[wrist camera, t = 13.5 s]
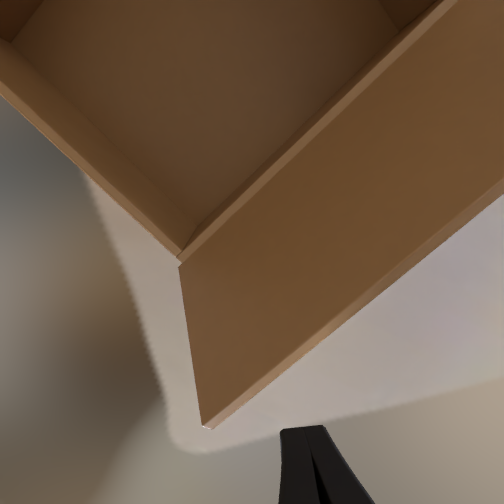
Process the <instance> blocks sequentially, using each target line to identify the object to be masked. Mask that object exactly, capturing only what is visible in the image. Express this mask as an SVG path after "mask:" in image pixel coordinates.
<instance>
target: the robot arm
mask: <svg viewBox="0 0 504 504" xmlns="http://www.w3.org/2000/svg"><path fill="white" fill-rule="evenodd" d="M280 443H281V461H282V465H281V482H280V494H279V503H278V504H375V503H374V501H373V500H372V498H371V497H370V496H369V494H368V493H367V491H366V490H365V489H364V487H363V486H362V484H361V483H360V482H359V480H358V479H357V477H356V476H355V474H354V473H353V472H352V470H351V469H350V467H349V466H348V464H347V463H346V461H345V460H344V458H343V457H342V455H341V453H340V452H339V450H338V449H337V447H336V445H335V444H334V442H333V441H332V439H331V437H330V435H329V433H328V432H327V430H326V428H325V427H324V426H323V425H316V426H306V427H296V428H287V429H283V430H281V431H280Z"/></svg>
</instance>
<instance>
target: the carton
mask: <svg viewBox="0 0 504 504" xmlns="http://www.w3.org/2000/svg"><path fill="white" fill-rule="evenodd" d="M457 1H458V0H0V95H1V96H2V97H3V98H5V99H6V100H7V101H8V102H9V103H10V104H11V105H12V106H13V107H14V108H15V109H16V110H17V111H19V112H20V113H21V114H22V115H23V116H24V117H25V118H26V119H27V120H28V121H29V122H30V123H32V124H33V125H34V126H35V127H36V128H37V129H38V130H39V131H40V132H41V133H42V134H43V135H44V136H46V137H47V138H48V139H49V140H50V141H51V142H52V143H53V144H54V145H55V146H56V147H57V148H58V149H60V150H61V151H62V152H63V153H64V154H65V155H66V156H67V157H68V158H69V159H70V160H71V161H72V162H74V163H75V164H76V165H77V166H78V167H79V168H80V169H81V170H82V171H83V172H84V173H85V174H86V175H88V176H89V177H90V178H91V179H92V180H93V181H94V182H95V183H96V184H97V185H98V186H99V187H100V188H102V189H103V190H104V191H105V192H106V193H107V194H108V195H109V196H110V197H111V198H112V199H113V200H114V201H116V202H117V203H118V204H119V205H120V206H121V207H122V208H123V209H124V210H125V211H126V212H127V213H128V214H130V215H131V216H132V217H133V218H134V219H135V220H136V221H137V222H138V223H139V224H140V225H141V226H142V227H144V228H145V229H146V230H147V231H148V232H149V233H150V234H151V235H152V236H153V237H154V238H155V239H156V240H158V241H159V242H160V243H161V244H162V245H163V246H164V247H165V248H166V249H167V250H168V251H169V252H170V253H172V254H173V255H174V256H175V257H176V258H177V259H178V260H179V261H180V262H181V263H183V262H184V261H185V260H186V259H187V258H188V257H189V256H191V255H192V254H193V253H194V252H195V251H196V250H197V249H198V248H199V247H200V246H201V245H202V244H203V243H204V242H205V241H206V240H207V239H208V238H209V237H210V236H212V235H213V234H214V233H215V232H216V231H217V230H218V229H219V228H220V227H221V226H222V225H223V224H224V223H225V222H226V221H227V220H228V219H229V218H230V217H231V216H233V215H234V214H235V213H236V212H237V211H238V210H239V209H240V208H241V207H242V206H243V205H244V204H245V203H246V202H247V201H248V200H249V199H250V198H251V197H252V196H254V195H255V194H256V193H257V192H258V191H259V190H260V189H261V188H262V187H263V186H264V185H265V184H266V183H267V182H268V181H269V180H270V179H271V178H272V177H274V176H275V175H276V174H277V173H278V172H279V171H280V170H281V169H282V168H283V167H284V166H285V165H286V164H287V163H288V162H289V161H290V160H291V159H292V158H293V157H295V156H296V155H297V154H298V153H299V152H300V151H301V150H302V149H303V148H304V147H305V146H306V145H307V144H308V143H309V142H310V141H311V140H312V139H313V138H314V137H316V136H317V135H318V134H319V133H320V132H321V131H322V130H323V129H324V128H325V127H326V126H327V125H328V124H329V123H330V122H331V121H332V120H333V119H334V118H336V117H337V116H338V115H339V114H340V113H341V112H342V111H343V110H344V109H345V108H346V107H347V106H348V105H349V104H350V103H351V102H352V101H353V100H354V99H355V98H357V97H358V96H359V95H360V94H361V93H362V92H363V91H364V90H365V89H366V88H367V87H368V86H369V85H370V84H371V83H372V82H373V81H374V80H375V79H376V78H378V77H379V76H380V75H381V74H382V73H383V72H384V71H385V70H386V69H387V68H388V67H389V66H390V65H391V64H392V63H393V62H394V61H395V60H396V59H398V58H399V57H400V56H401V55H402V54H403V53H404V52H405V51H406V50H407V49H408V48H409V47H410V46H411V45H412V44H413V43H414V42H415V41H416V40H417V39H419V38H420V37H421V36H422V35H423V34H424V33H425V32H426V31H427V30H428V29H429V28H430V27H431V26H432V25H433V24H434V23H435V22H436V21H437V20H438V19H440V18H441V17H442V16H443V15H444V14H445V13H446V12H447V11H448V10H449V9H450V8H451V7H452V6H453V5H454V4H455V3H456V2H457Z"/></svg>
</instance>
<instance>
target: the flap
mask: <svg viewBox="0 0 504 504" xmlns="http://www.w3.org/2000/svg"><path fill="white" fill-rule="evenodd" d="M503 193H504V0H458V1H457V2H456V3H455V4H454V5H453V6H452V7H451V8H450V9H449V10H448V11H447V12H446V13H445V14H444V15H443V16H442V17H441V18H440V19H438V20H437V21H436V22H435V23H434V24H433V25H432V26H431V27H430V28H429V29H428V30H427V31H426V32H425V33H424V34H423V35H422V36H421V37H420V38H419V39H417V40H416V41H415V42H414V43H413V44H412V45H411V46H410V47H409V48H408V49H407V50H406V51H405V52H404V53H403V54H402V55H401V56H400V57H399V58H398V59H396V60H395V61H394V62H393V63H392V64H391V65H390V66H389V67H388V68H387V69H386V70H385V71H384V72H383V73H382V74H381V75H380V76H379V77H378V78H376V79H375V80H374V81H373V82H372V83H371V84H370V85H369V86H368V87H367V88H366V89H365V90H364V91H363V92H362V93H361V94H360V95H359V96H358V97H357V98H355V99H354V100H353V101H352V102H351V103H350V104H349V105H348V106H347V107H346V108H345V109H344V110H343V111H342V112H341V113H340V114H339V115H338V116H337V117H336V118H334V119H333V120H332V121H331V122H330V123H329V124H328V125H327V126H326V127H325V128H324V129H323V130H322V131H321V132H320V133H319V134H318V135H317V136H316V137H314V138H313V139H312V140H311V141H310V142H309V143H308V144H307V145H306V146H305V147H304V148H303V149H302V150H301V151H300V152H299V153H298V154H297V155H296V156H295V157H293V158H292V159H291V160H290V161H289V162H288V163H287V164H286V165H285V166H284V167H283V168H282V169H281V170H280V171H279V172H278V173H277V174H276V175H275V176H274V177H272V178H271V179H270V180H269V181H268V182H267V183H266V184H265V185H264V186H263V187H262V188H261V189H260V190H259V191H258V192H257V193H256V194H255V195H254V196H252V197H251V198H250V199H249V200H248V201H247V202H246V203H245V204H244V205H243V206H242V207H241V208H240V209H239V210H238V211H237V212H236V213H235V214H234V215H233V216H231V217H230V218H229V219H228V220H227V221H226V222H225V223H224V224H223V225H222V226H221V227H220V228H219V229H218V230H217V231H216V232H215V233H214V234H213V235H212V236H210V237H209V238H208V239H207V240H206V241H205V242H204V243H203V244H202V245H201V246H200V247H199V248H198V249H197V250H196V251H195V252H194V253H193V254H192V255H191V256H189V257H188V258H187V259H186V260H185V261H184V262H183V263H182V264H181V265H180V266H179V267H178V268H179V275H180V282H181V288H182V295H183V302H184V309H185V315H186V322H187V329H188V336H189V342H190V349H191V356H192V363H193V369H194V376H195V383H196V389H197V396H198V403H199V410H200V416H201V423H202V426H203V427H206V428H209V429H214V428H215V427H217V426H218V425H219V424H220V423H222V422H223V421H224V420H225V419H226V418H228V417H229V416H230V415H231V414H233V413H234V412H235V411H236V410H238V409H239V408H240V407H241V406H243V405H244V404H245V403H246V402H247V401H249V400H250V399H251V398H252V397H254V396H255V395H256V394H257V393H259V392H260V391H261V390H262V389H263V388H265V387H266V386H267V385H268V384H270V383H271V382H272V381H273V380H275V379H276V378H277V377H278V376H279V375H281V374H282V373H283V372H284V371H286V370H287V369H288V368H289V367H291V366H292V365H293V364H294V363H295V362H297V361H298V360H299V359H300V358H302V357H303V356H304V355H305V354H307V353H308V352H309V351H310V350H311V349H313V348H314V347H315V346H316V345H318V344H319V343H320V342H321V341H323V340H324V339H325V338H326V337H327V336H329V335H330V334H331V333H332V332H334V331H335V330H336V329H337V328H339V327H340V326H341V325H342V324H343V323H345V322H346V321H347V320H348V319H350V318H351V317H352V316H353V315H355V314H356V313H357V312H358V311H359V310H361V309H362V308H363V307H364V306H366V305H367V304H368V303H369V302H371V301H372V300H373V299H374V298H375V297H377V296H378V295H379V294H380V293H382V292H383V291H384V290H385V289H387V288H388V287H389V286H390V285H391V284H393V283H394V282H395V281H396V280H398V279H399V278H400V277H401V276H403V275H404V274H405V273H406V272H407V271H409V270H410V269H411V268H412V267H414V266H415V265H416V264H417V263H419V262H420V261H421V260H422V259H423V258H425V257H426V256H427V255H428V254H430V253H431V252H432V251H433V250H435V249H436V248H437V247H438V246H439V245H441V244H442V243H443V242H444V241H446V240H447V239H448V238H449V237H451V236H452V235H453V234H454V233H455V232H457V231H458V230H459V229H460V228H462V227H463V226H464V225H465V224H467V223H468V222H469V221H470V220H471V219H473V218H474V217H475V216H476V215H478V214H479V213H480V212H481V211H483V210H484V209H485V208H486V207H487V206H489V205H490V204H491V203H492V202H494V201H495V200H496V199H497V198H499V197H500V196H501V195H502V194H503Z"/></svg>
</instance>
